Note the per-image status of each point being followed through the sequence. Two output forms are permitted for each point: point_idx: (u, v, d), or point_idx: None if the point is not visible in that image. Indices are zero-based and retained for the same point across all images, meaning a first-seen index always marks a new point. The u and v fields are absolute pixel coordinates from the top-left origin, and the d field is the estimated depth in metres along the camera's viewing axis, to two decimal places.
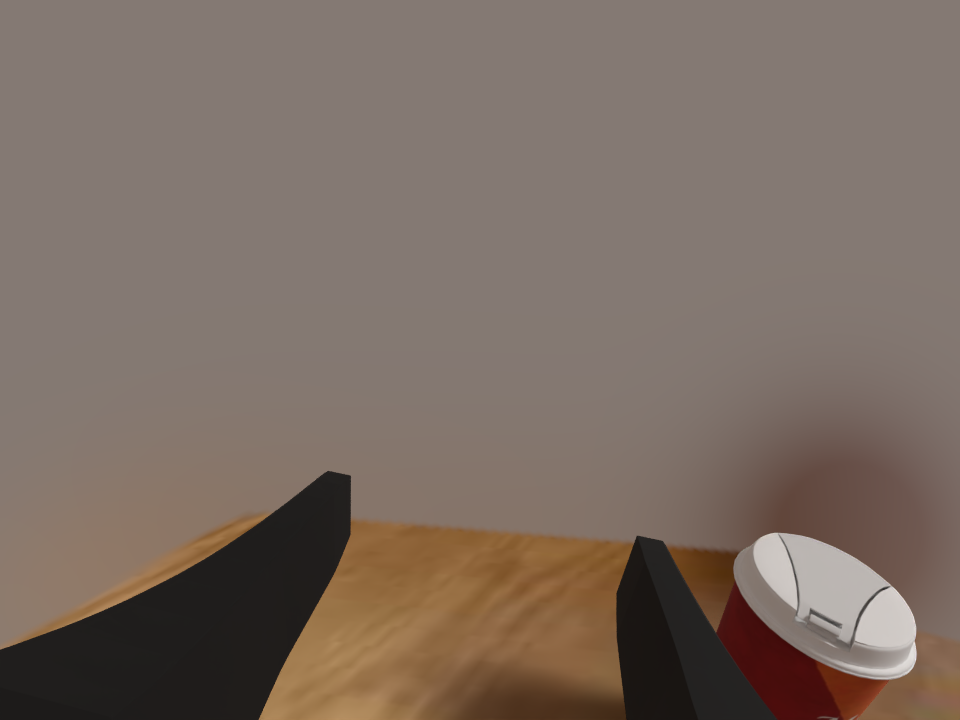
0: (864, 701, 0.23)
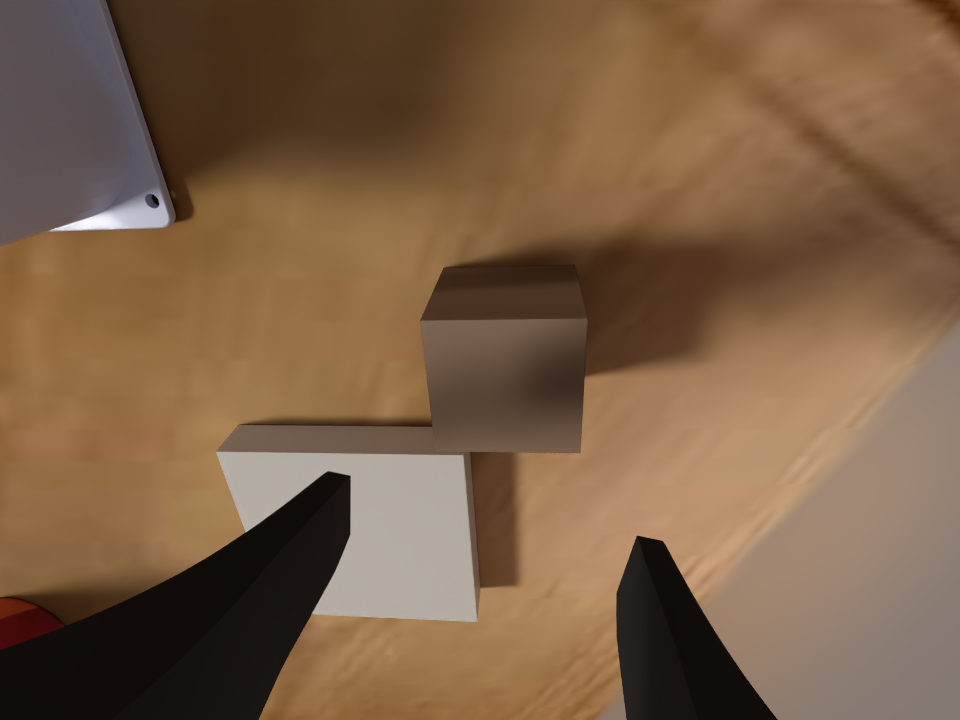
0: None
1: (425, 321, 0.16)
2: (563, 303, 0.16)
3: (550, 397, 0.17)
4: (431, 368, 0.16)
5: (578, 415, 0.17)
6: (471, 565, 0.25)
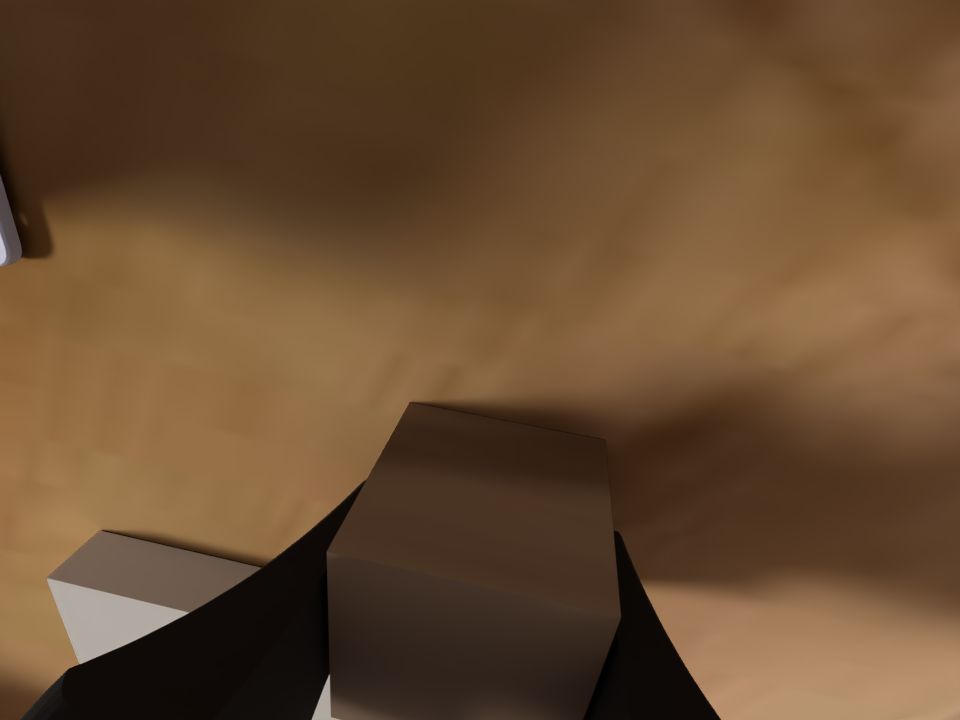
0: None
1: (335, 554, 0.09)
2: (581, 553, 0.09)
3: (530, 699, 0.10)
4: (338, 618, 0.10)
5: None
6: None
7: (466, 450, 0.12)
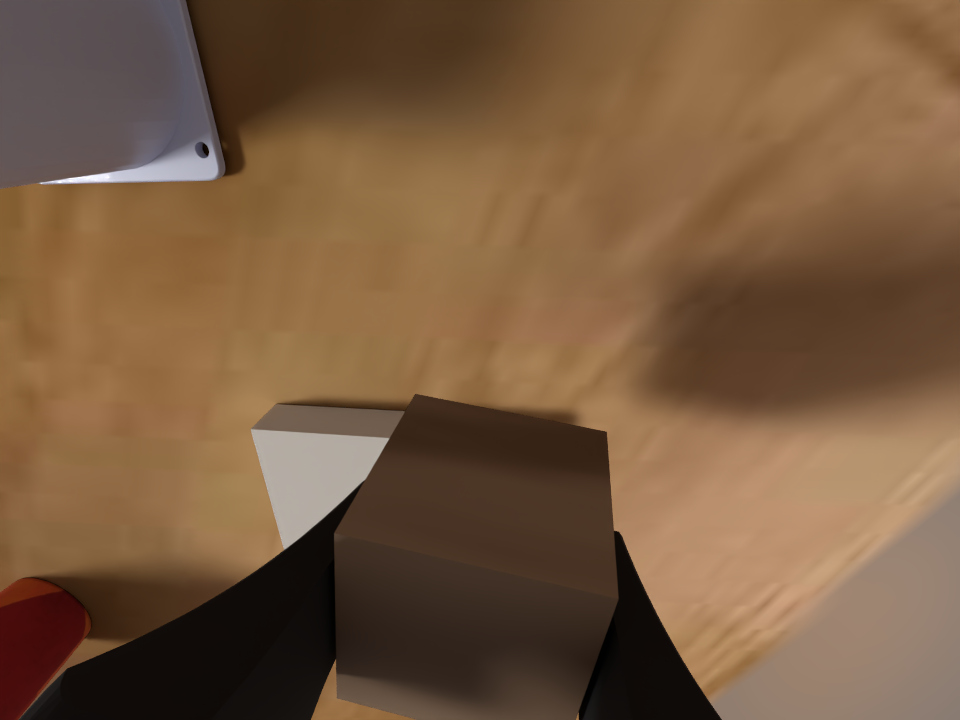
0: None
1: (342, 536, 0.09)
2: (580, 538, 0.10)
3: (530, 681, 0.10)
4: (344, 598, 0.10)
5: (570, 714, 0.10)
6: None
7: (470, 440, 0.12)
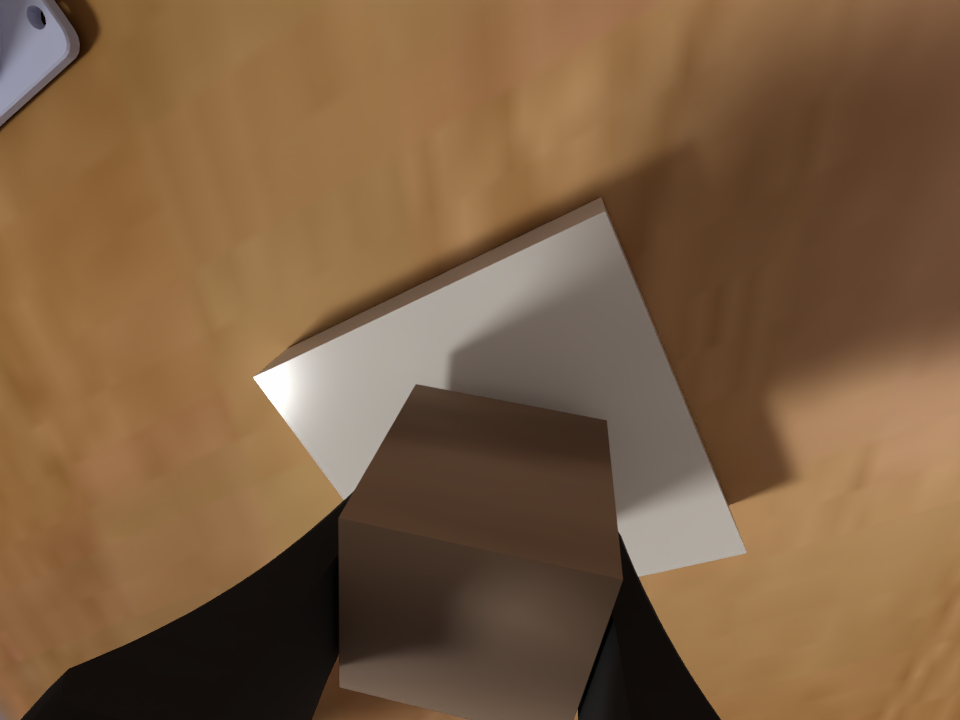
0: None
1: (347, 520, 0.09)
2: (583, 521, 0.10)
3: (534, 666, 0.10)
4: (347, 585, 0.10)
5: (574, 698, 0.10)
6: (698, 441, 0.14)
7: (471, 428, 0.12)
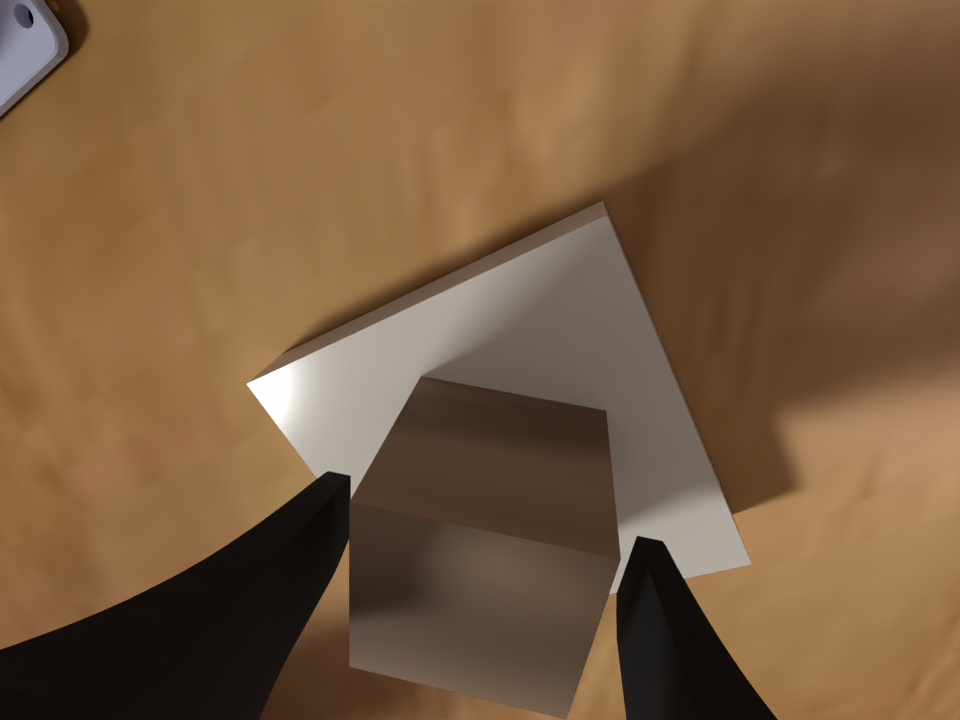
0: None
1: (357, 504, 0.10)
2: (583, 505, 0.10)
3: (536, 643, 0.10)
4: (358, 566, 0.10)
5: (574, 675, 0.11)
6: (702, 451, 0.14)
7: (475, 418, 0.13)
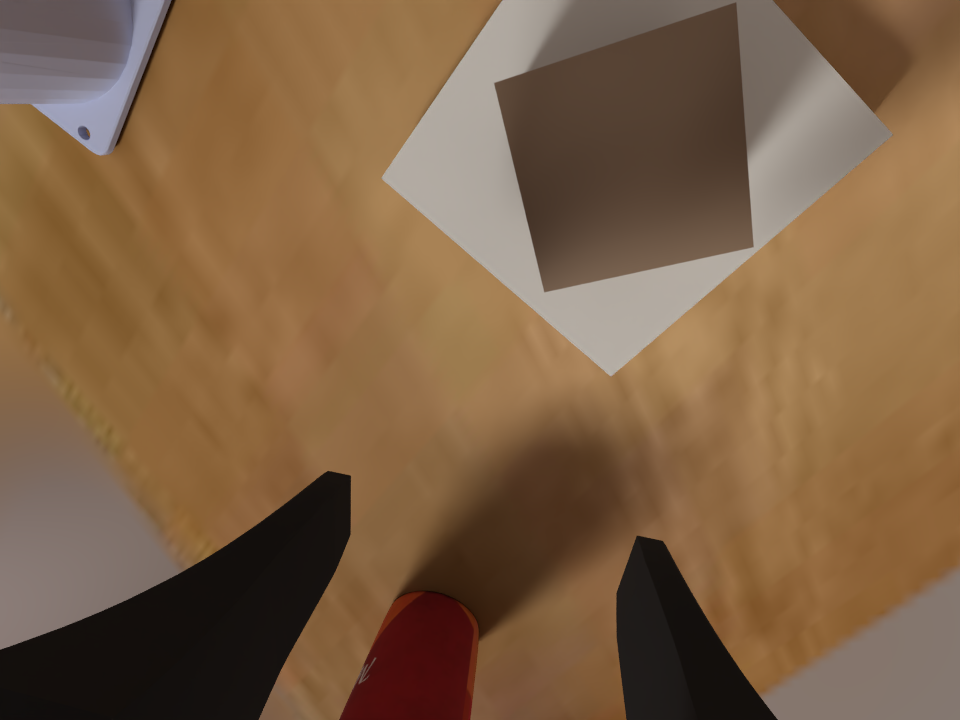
0: None
1: (501, 82, 0.11)
2: None
3: (695, 159, 0.12)
4: (520, 158, 0.12)
5: (742, 181, 0.12)
6: (793, 27, 0.14)
7: None
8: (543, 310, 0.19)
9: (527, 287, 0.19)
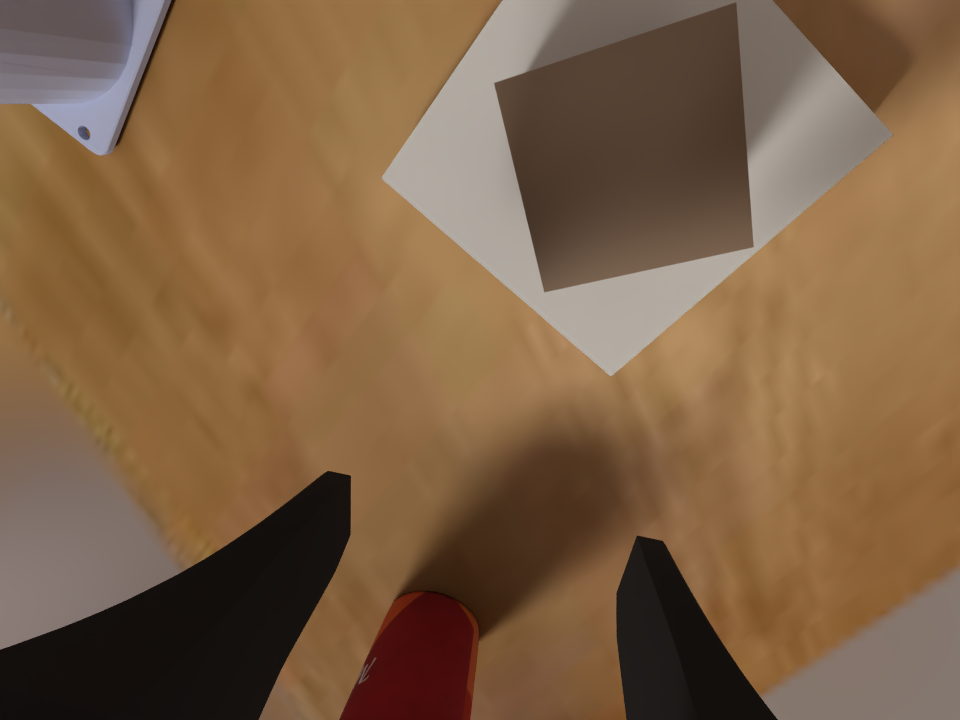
0: None
1: (501, 82, 0.11)
2: None
3: (695, 159, 0.12)
4: (520, 158, 0.12)
5: (742, 181, 0.12)
6: (793, 27, 0.14)
7: None
8: (543, 310, 0.19)
9: (527, 287, 0.19)
